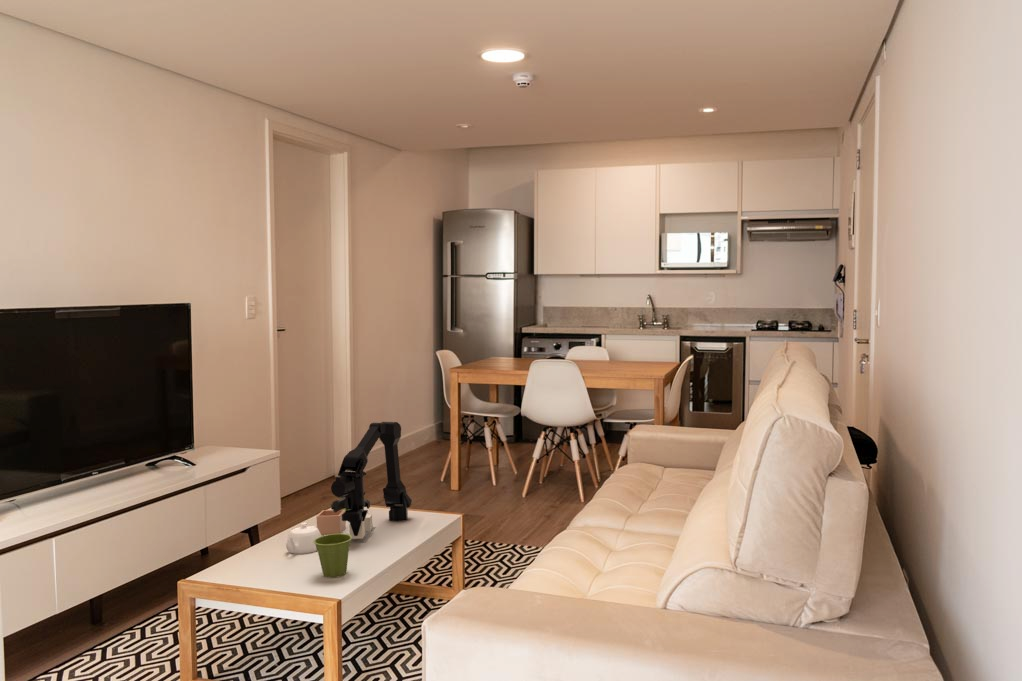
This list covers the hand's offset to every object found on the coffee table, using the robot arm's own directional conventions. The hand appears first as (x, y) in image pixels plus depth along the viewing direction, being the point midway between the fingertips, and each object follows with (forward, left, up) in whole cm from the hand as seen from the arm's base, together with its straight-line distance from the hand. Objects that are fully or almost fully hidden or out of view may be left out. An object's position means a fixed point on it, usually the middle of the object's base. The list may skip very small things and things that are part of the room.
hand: (357, 533), depth 283 cm
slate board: (0, -7, -3) cm, 7 cm away
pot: (+12, -12, -3) cm, 18 cm away
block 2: (0, -13, -2) cm, 13 cm away
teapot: (+17, +9, -4) cm, 19 cm away
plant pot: (+1, +32, -4) cm, 32 cm away
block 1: (0, 0, -1) cm, 1 cm away
